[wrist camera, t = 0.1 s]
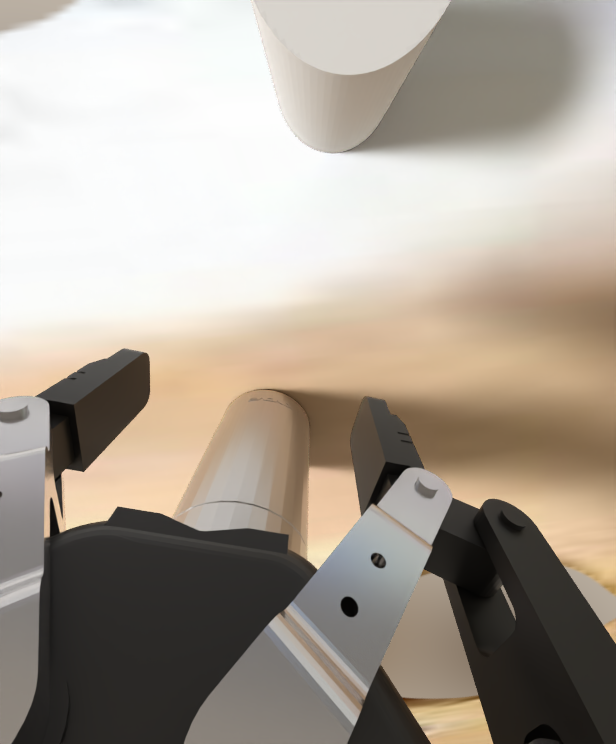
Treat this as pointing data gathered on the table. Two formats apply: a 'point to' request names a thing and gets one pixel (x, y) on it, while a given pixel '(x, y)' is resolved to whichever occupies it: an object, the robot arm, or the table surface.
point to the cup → (341, 62)
